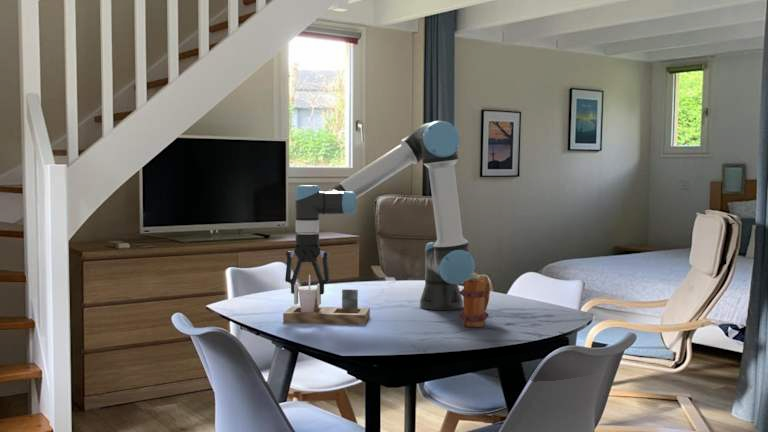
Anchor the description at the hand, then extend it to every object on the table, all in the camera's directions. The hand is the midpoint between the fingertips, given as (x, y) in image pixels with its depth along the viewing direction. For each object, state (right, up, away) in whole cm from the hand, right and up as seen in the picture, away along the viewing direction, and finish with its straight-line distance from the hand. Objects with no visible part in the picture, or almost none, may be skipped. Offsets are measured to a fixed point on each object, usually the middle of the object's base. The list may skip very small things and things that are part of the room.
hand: (307, 303), depth 257 cm
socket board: (+6, -5, 0) cm, 8 cm away
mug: (+54, -6, -8) cm, 55 cm away
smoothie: (0, -5, 0) cm, 5 cm away
